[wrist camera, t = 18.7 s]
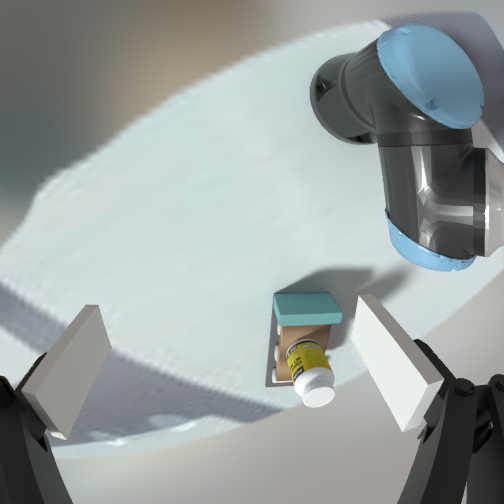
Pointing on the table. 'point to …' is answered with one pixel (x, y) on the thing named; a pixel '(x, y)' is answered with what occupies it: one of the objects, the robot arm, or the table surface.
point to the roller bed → (297, 321)
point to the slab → (292, 335)
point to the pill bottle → (311, 372)
